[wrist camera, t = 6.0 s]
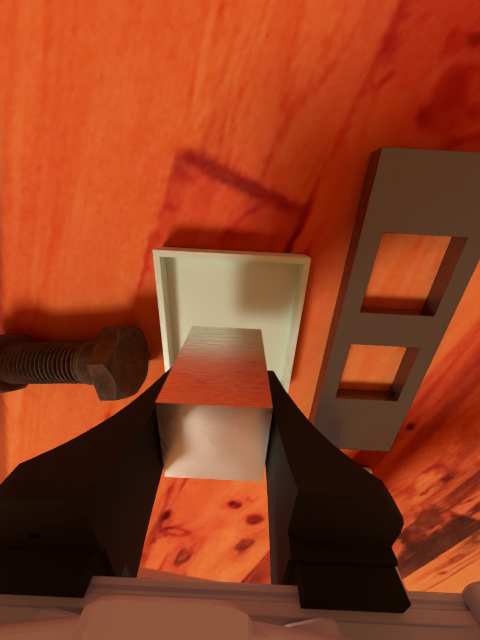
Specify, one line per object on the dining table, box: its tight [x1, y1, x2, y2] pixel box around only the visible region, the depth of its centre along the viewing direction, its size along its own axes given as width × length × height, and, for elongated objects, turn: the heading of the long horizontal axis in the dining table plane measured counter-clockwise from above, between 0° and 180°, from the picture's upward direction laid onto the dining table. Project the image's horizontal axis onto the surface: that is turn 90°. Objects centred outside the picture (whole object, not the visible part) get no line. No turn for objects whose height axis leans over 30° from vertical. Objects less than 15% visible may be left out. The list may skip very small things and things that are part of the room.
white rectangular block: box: [155, 326, 273, 482], centre depth 11 cm, size 4×4×6 cm
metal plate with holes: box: [309, 147, 480, 451], centre depth 18 cm, size 24×8×1 cm, turn 177°
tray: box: [153, 247, 311, 393], centre depth 18 cm, size 12×10×2 cm
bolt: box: [0, 327, 149, 401], centre depth 18 cm, size 6×5×15 cm
